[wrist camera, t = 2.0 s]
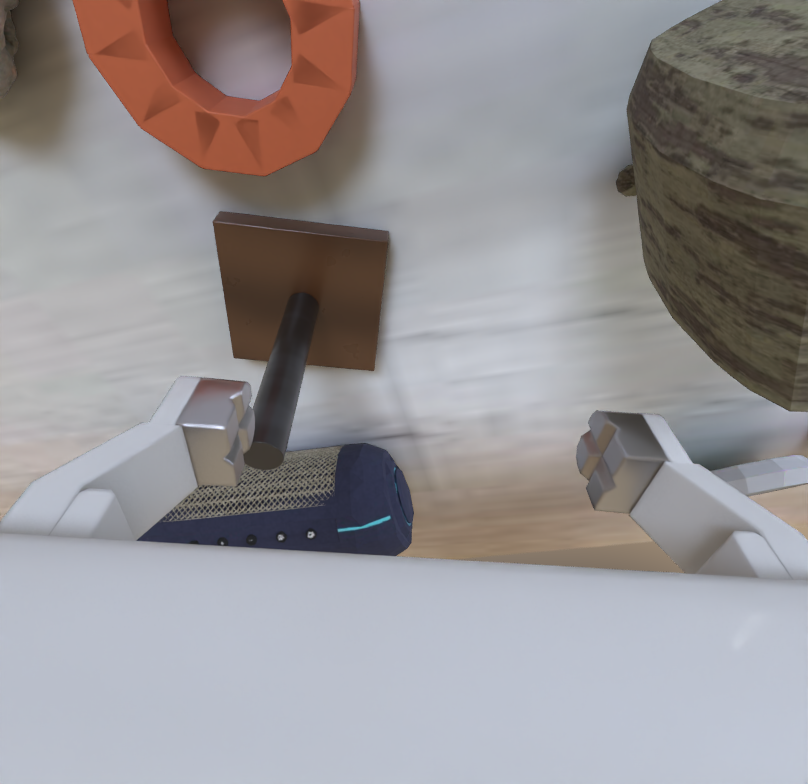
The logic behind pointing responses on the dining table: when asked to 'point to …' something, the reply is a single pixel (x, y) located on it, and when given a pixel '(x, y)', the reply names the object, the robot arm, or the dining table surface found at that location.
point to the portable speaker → (301, 506)
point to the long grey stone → (7, 46)
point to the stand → (297, 309)
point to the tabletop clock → (729, 187)
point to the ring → (207, 106)
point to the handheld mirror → (766, 475)
